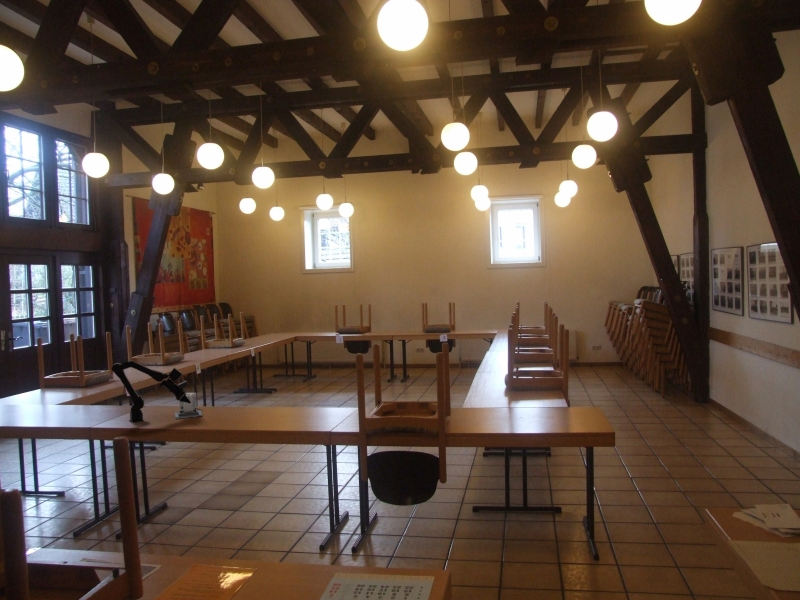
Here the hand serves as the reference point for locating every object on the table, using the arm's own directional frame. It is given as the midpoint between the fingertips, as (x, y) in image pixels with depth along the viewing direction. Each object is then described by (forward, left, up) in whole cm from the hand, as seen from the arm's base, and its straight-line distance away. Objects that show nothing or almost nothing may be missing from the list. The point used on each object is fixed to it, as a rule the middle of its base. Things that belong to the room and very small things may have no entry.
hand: (190, 401), depth 378 cm
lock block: (-1, +1, -8) cm, 8 cm away
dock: (-1, +1, -9) cm, 9 cm away
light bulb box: (+9, +20, -9) cm, 23 cm away
